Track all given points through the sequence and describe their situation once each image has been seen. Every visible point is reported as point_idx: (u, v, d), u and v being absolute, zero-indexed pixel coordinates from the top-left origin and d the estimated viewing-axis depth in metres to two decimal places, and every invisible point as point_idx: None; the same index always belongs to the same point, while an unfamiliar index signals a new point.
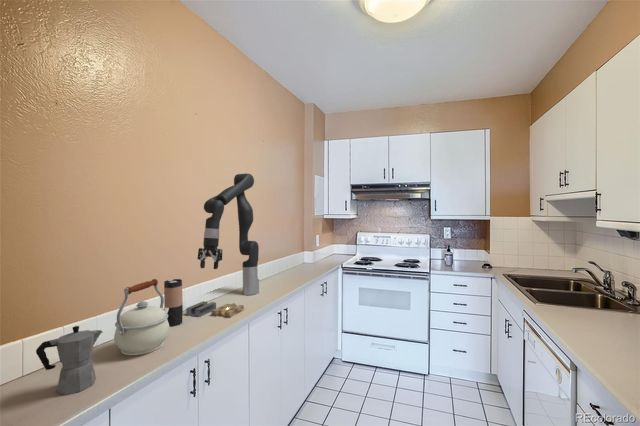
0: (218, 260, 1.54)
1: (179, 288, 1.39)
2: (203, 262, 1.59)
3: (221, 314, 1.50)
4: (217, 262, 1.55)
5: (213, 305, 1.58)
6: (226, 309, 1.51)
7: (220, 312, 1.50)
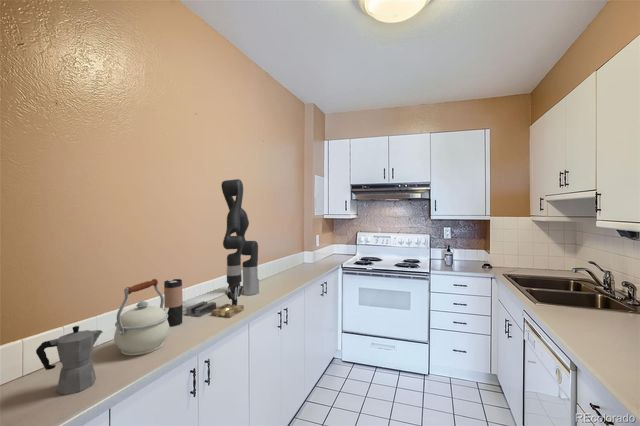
0: (239, 296, 1.62)
1: (179, 288, 1.39)
2: None
3: (220, 314, 1.49)
4: None
5: (213, 305, 1.58)
6: (226, 311, 1.50)
7: (220, 312, 1.49)
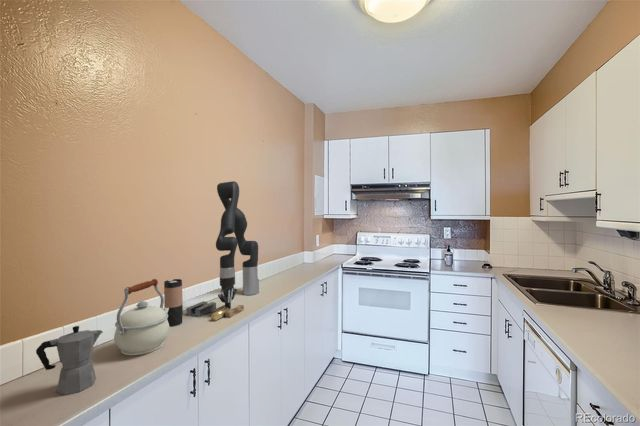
0: None
1: (179, 288, 1.39)
2: None
3: (212, 318, 1.43)
4: None
5: (213, 305, 1.58)
6: (219, 314, 1.44)
7: (212, 316, 1.43)
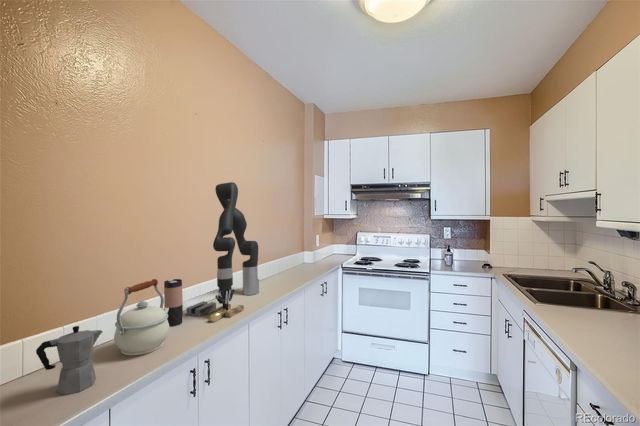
0: (230, 300, 1.55)
1: (179, 288, 1.39)
2: None
3: (210, 320, 1.41)
4: None
5: (213, 305, 1.58)
6: (216, 316, 1.43)
7: (209, 318, 1.41)
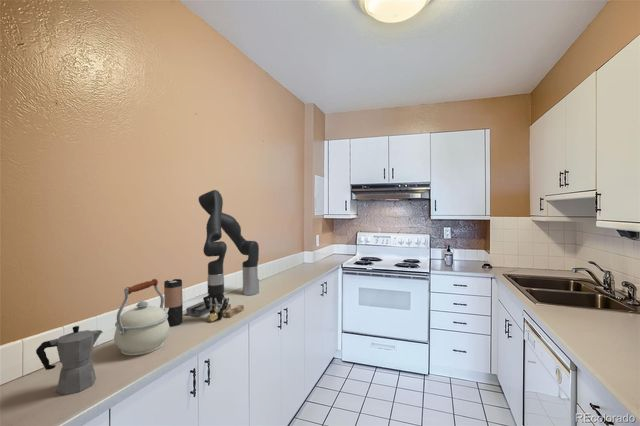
0: None
1: (180, 288, 1.39)
2: None
3: (209, 320, 1.41)
4: None
5: None
6: (215, 315, 1.43)
7: (208, 318, 1.42)
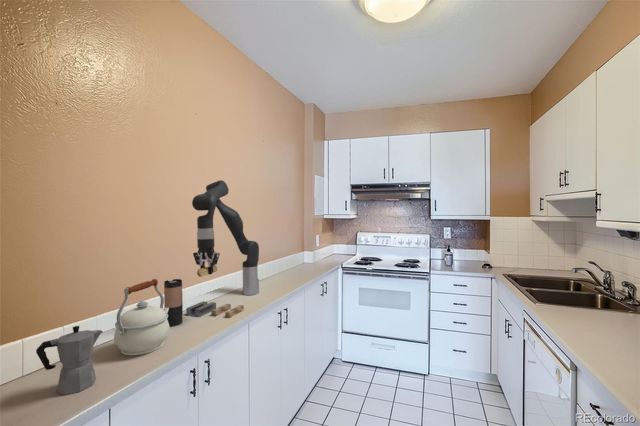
0: None
1: (179, 288, 1.39)
2: None
3: (199, 274, 1.39)
4: None
5: (213, 305, 1.58)
6: (205, 269, 1.40)
7: (198, 272, 1.39)
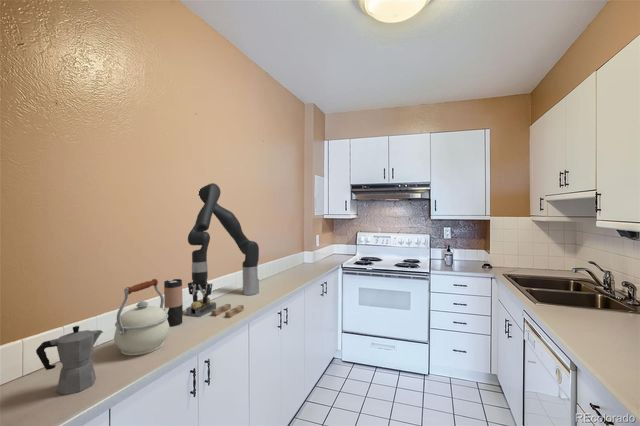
0: None
1: (179, 288, 1.39)
2: None
3: (193, 307, 1.51)
4: None
5: (213, 305, 1.58)
6: (198, 303, 1.52)
7: (192, 305, 1.51)
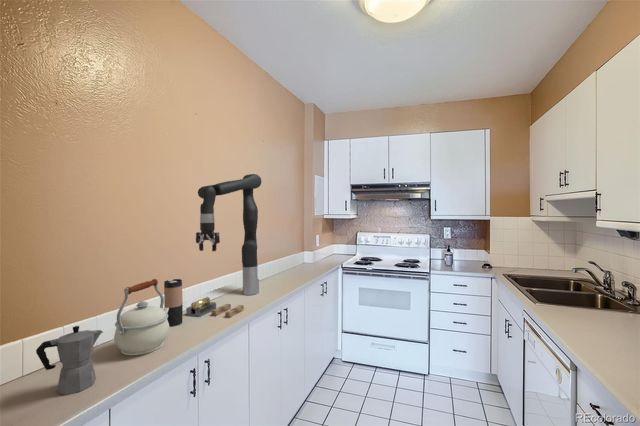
0: None
1: (179, 288, 1.39)
2: None
3: (193, 307, 1.51)
4: None
5: (213, 305, 1.58)
6: (198, 303, 1.52)
7: (192, 305, 1.51)
